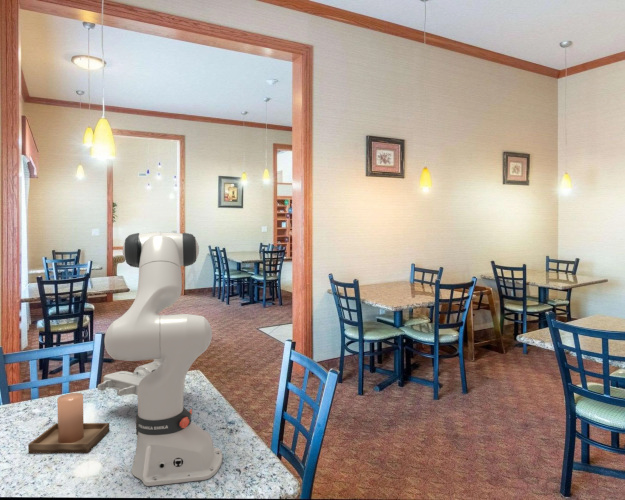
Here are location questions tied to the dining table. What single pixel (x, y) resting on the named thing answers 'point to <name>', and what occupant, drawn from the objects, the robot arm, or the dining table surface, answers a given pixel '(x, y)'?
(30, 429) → the dining table surface
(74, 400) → the peach cylinder
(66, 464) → the dining table surface
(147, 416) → the robot arm
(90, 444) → the tray
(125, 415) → the dining table surface
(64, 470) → the dining table surface
